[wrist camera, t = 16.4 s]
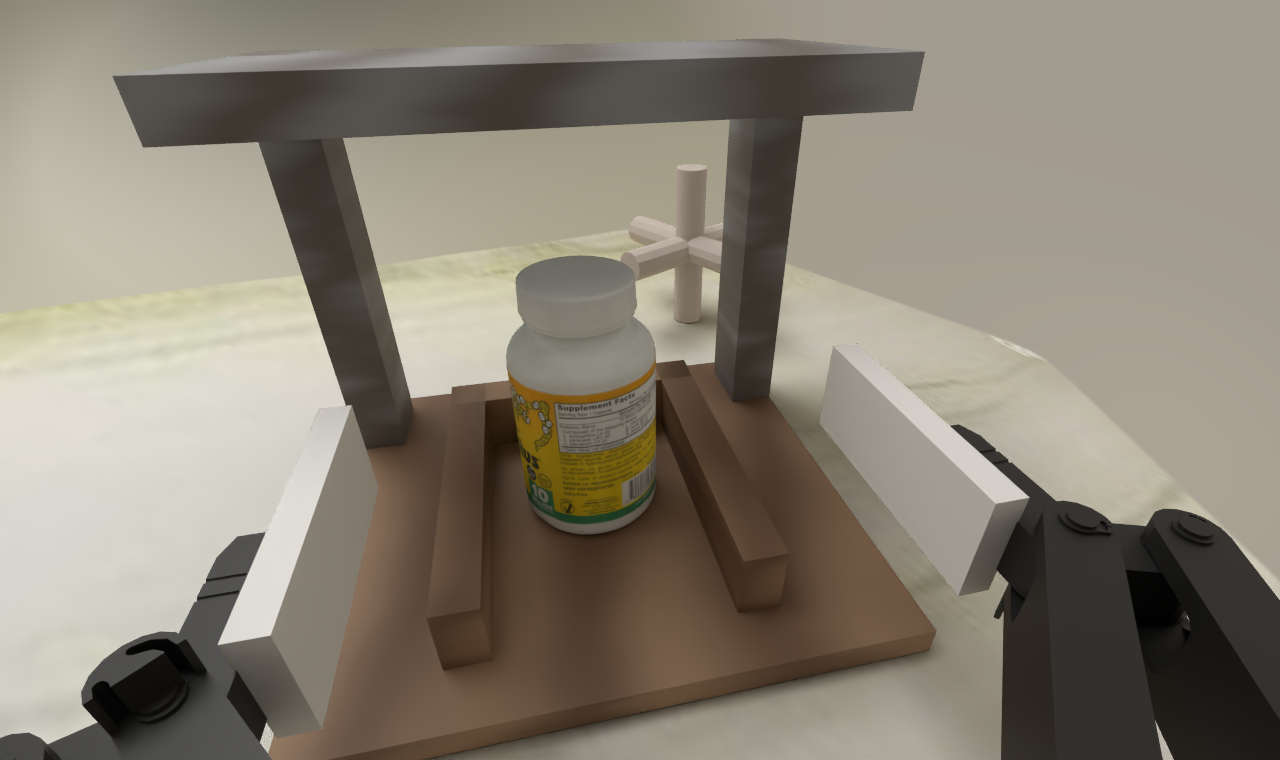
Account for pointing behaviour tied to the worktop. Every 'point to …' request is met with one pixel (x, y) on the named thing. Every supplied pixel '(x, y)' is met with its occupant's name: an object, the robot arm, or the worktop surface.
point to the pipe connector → (679, 244)
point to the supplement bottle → (583, 394)
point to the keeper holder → (485, 421)
